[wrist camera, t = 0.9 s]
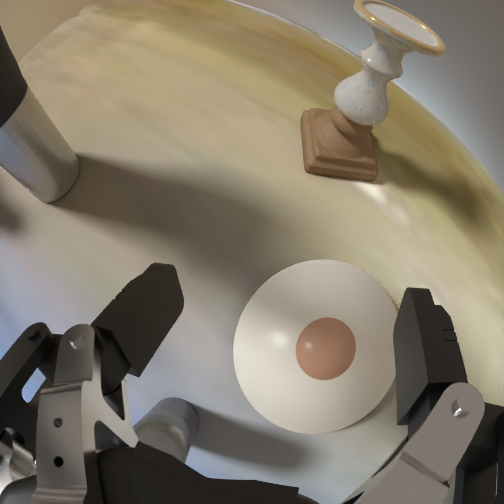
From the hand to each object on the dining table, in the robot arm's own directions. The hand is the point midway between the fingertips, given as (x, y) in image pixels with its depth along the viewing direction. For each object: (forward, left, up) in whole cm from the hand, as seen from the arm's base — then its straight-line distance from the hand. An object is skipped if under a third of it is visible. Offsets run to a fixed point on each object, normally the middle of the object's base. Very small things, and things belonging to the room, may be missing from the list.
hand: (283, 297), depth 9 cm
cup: (+2, -15, -23) cm, 28 cm away
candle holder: (-8, +27, -24) cm, 37 cm away
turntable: (+8, +3, -22) cm, 24 cm away
